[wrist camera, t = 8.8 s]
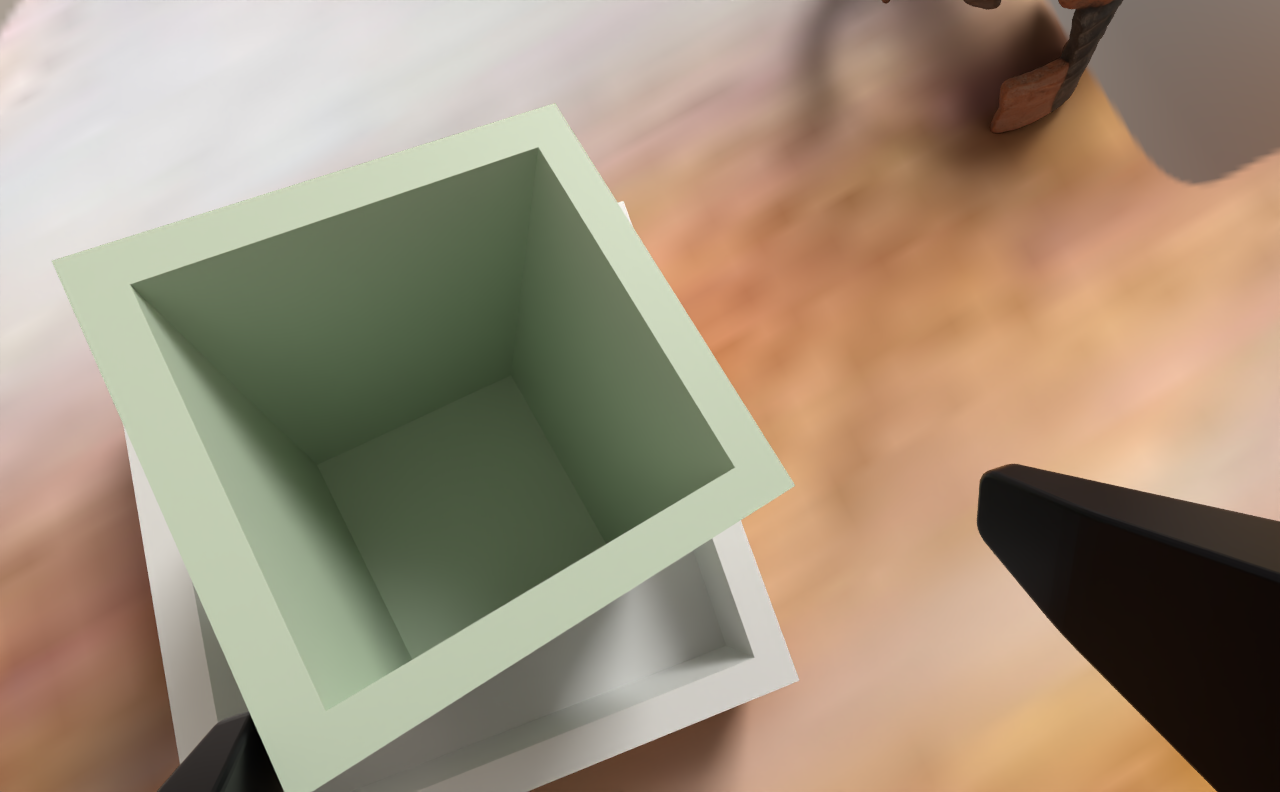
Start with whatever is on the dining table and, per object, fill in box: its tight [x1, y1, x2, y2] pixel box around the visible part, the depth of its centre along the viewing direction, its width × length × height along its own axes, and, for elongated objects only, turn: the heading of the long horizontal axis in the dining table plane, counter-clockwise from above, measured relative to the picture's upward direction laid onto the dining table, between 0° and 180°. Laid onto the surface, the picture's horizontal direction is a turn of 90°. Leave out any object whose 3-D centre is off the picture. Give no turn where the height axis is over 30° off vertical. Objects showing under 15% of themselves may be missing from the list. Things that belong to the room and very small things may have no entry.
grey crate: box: [124, 201, 799, 792], centre depth 17 cm, size 13×13×4 cm
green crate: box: [52, 103, 795, 792], centre depth 13 cm, size 6×6×10 cm
